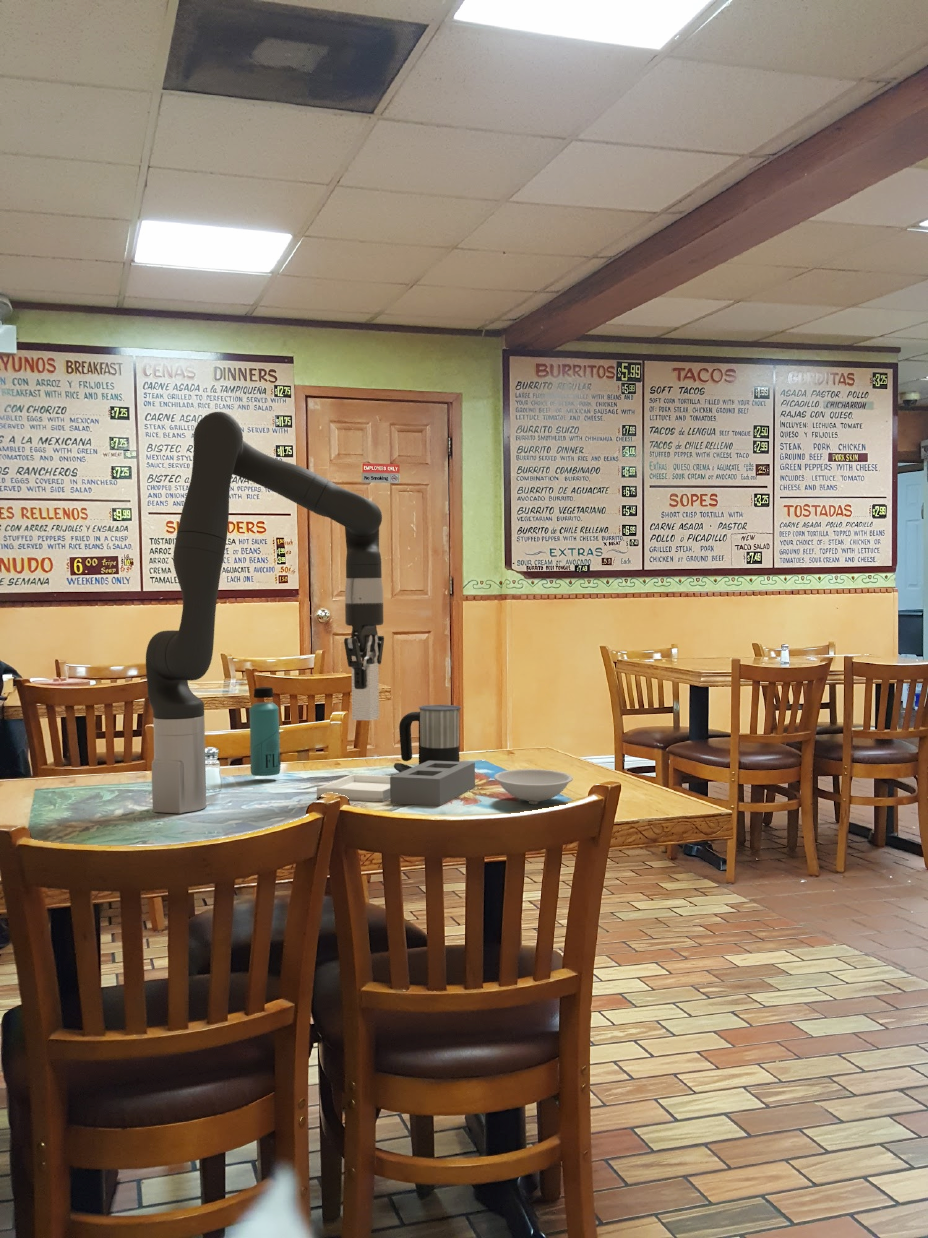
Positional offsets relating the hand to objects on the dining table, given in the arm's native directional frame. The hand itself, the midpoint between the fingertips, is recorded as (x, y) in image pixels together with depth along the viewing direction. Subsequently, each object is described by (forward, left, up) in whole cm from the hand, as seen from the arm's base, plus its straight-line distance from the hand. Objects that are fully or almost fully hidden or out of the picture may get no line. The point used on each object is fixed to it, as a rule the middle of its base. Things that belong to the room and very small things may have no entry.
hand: (365, 687), depth 213 cm
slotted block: (+1, -14, -21) cm, 25 cm away
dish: (-2, -35, -21) cm, 41 cm away
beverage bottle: (+7, +27, -21) cm, 35 cm away
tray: (0, 0, -21) cm, 21 cm away
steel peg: (0, 0, -6) cm, 6 cm away
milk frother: (+21, -5, -21) cm, 30 cm away
